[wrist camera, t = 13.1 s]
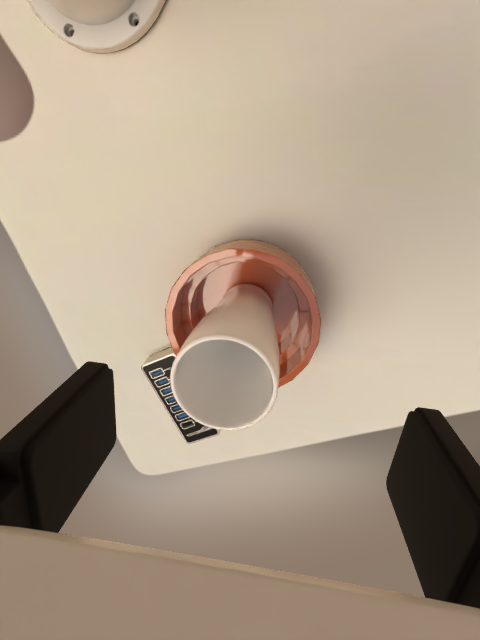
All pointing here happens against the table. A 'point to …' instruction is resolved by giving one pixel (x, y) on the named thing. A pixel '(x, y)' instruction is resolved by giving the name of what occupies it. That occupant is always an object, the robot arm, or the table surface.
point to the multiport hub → (159, 378)
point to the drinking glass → (230, 362)
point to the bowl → (260, 270)
